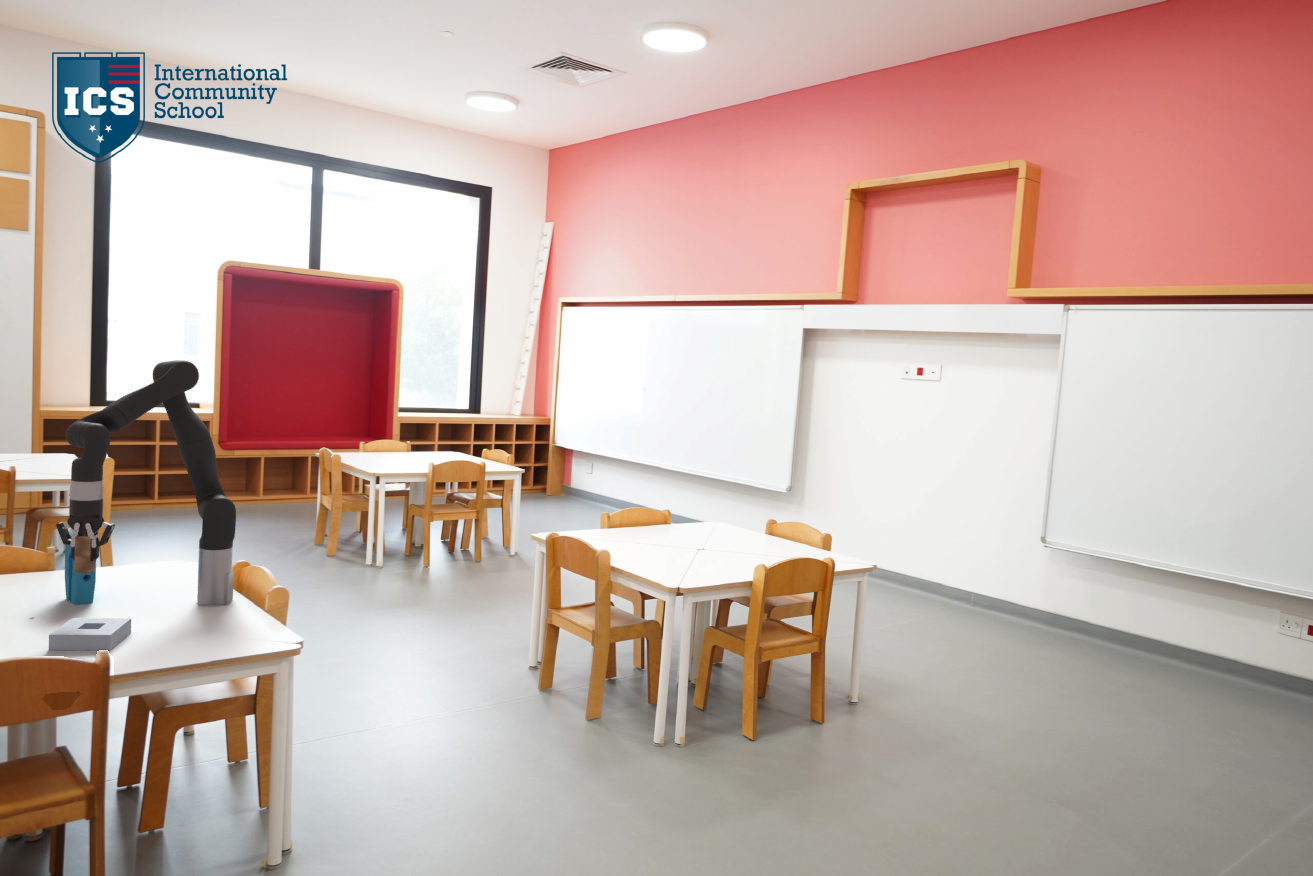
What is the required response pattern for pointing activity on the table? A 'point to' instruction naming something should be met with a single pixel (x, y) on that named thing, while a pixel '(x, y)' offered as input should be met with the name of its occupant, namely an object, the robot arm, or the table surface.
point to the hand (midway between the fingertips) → (84, 560)
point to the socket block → (90, 634)
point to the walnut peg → (83, 555)
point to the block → (78, 581)
